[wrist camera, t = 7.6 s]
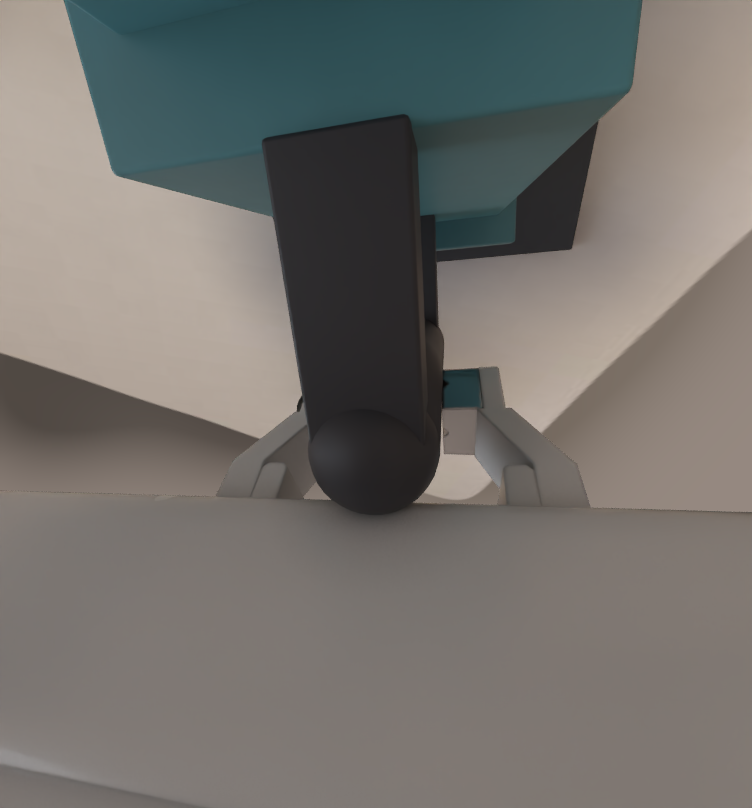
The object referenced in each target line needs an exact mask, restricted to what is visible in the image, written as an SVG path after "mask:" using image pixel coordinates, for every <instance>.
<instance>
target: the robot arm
mask: <svg viewBox="0 0 752 808" xmlns="http://www.w3.org/2000/svg"><path fill="white" fill-rule="evenodd" d="M442 373H443V386H442V420H443V444H444V454H462V455H475V457H476V459H477V460H478V461H479V462H480V464H481V465H482V466H483V468H484V469H485V470H486V472H487V473H488V474H489V476H490V477H491V478H492V479H493V481H494V482H495V483H496V485H497V486H498V487H499V489H500V491H499V499H498V505H483V504H481V505H480V504H447V503H413V502H412V503H411V504H409V505H408V506H406V507H404V508H402V509H400V510H397V511H395V512H392V513H388V514H383V515H367V514H360V513H357V512H353V511H350V510H348V509H346V508H344V507H342V506H340V505H339V504H337V503H336V502H334V501H333V500H310V499H304V498H303V496H304V495H305V494H306V493H307V492H308V490H309V489H310V488H311V487H312V486H313V485H314V483H315V482H316V479H315V477H314V475H313V473H312V470H311V466H310V463H309V459H308V441H309V434H308V427H307V421H306V415H305V409H304V403H303V404H302V407H301V409H300V412H294V413H293V414H292V415H290V416H289V417H288V418H287V419H285V420H284V421H283V422H282V423H280V424H279V425H278V426H276V427H275V428H274V429H273V430H271V431H270V432H269V433H268V434H266V435H265V436H264V437H262V438H261V439H260V440H259V441H257V442H256V443H255V444H254V445H252V446H251V447H250V448H248V449H247V450H246V451H245V452H244V453H242V454H241V455H240V456H238V457H237V458H236V459H235V460H233V462H232V464H231V466H230V468H229V470H228V472H227V474H226V476H225V478H224V480H223V482H222V484H221V486H220V488H219V490H218V493H217V494H216V496H215V497H209V496H174V495H140V494H139V495H138V494H105V493H71V492H34V491H4V490H0V808H752V512H720V511H719V512H718V511H686V510H652V509H619V508H618V509H617V508H616V509H615V508H591V507H590V504H589V501H588V498H587V494H586V491H585V488H584V485H583V481H582V479H581V475H580V472H579V469H578V466H577V464H576V463H575V462H574V461H573V460H572V459H570V458H569V457H568V456H567V455H566V454H565V453H563V452H562V451H561V450H560V449H559V448H558V447H556V446H555V445H554V444H553V443H552V442H551V441H549V440H548V439H547V438H546V437H545V436H544V435H542V434H541V433H540V432H539V431H538V430H537V429H535V428H534V427H533V426H532V425H531V424H530V423H528V422H527V421H526V420H525V419H524V418H523V417H521V416H520V415H519V414H518V413H517V412H516V411H514V410H513V409H512V408H506V407H505V402H504V396H503V390H502V384H501V379H500V373H499V368H498V367H497V366H496V367H479V368H468V369H445V370H442Z"/></svg>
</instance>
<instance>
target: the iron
mask: <svg viewBox="0 0 752 808" xmlns="http://www.w3.org/2000/svg"><path fill="white" fill-rule="evenodd" d="M64 2H65V6H66V9H67V13H68V16H69V20H70V23H71V27H72V31H73V34H74V38H75V41H76V45H77V48H78V52H79V55H80V59H81V62H82V66H83V69H84V73H85V76H86V80H87V84H88V87H89V91H90V94H91V98H92V101H93V105H94V108H95V112H96V115H97V119H98V122H99V126H100V129H101V133H102V137H103V140H104V144H105V147H106V151H107V154H108V158H109V161H110V165H111V168H112V171H113V172H114V174H115V175H117V176H120V177H123V178H127V179H131V180H134V181H138V182H142V183H146V184H150V185H153V186H157V187H161V188H165V189H169V190H172V191H176V192H180V193H184V194H188V195H192V196H195V197H199V198H203V199H207V200H211V201H214V202H218V203H222V204H226V205H230V206H233V207H237V208H241V209H245V210H249V211H252V212H256V213H260V214H264V215H268V216H271V217H274V223H275V230H276V236H277V242H278V248H279V254H280V261H281V267H282V273H283V279H284V285H285V291H286V298H287V304H288V310H289V316H290V322H291V329H292V335H293V341H294V347H295V353H296V359H297V366H298V372H299V378H300V384H301V390H302V397H303V403H304V409H305V415H306V421H307V427H308V434H309V441H308V459H309V463H310V466H311V470H312V473H313V475H314V477H315V479H316V481H317V483H318V485H319V486H320V487H321V489H322V490H323V492H324V493H325V494H326V495H327V496H328V497H329V498H330V499H331V500H333V501H334V502H336V503H337V504H339V505H340V506H342V507H344V508H346V509H348V510H350V511H353V512H357V513H360V514H367V515H383V514H388V513H392V512H395V511H397V510H400V509H402V508H404V507H406V506H408V505H409V504H411V503H412V502H413V501H415V500H416V499H418V498H419V497H420V496H421V494H422V493H423V492H424V491H425V490H426V489H427V487H428V486H429V484H430V483H431V481H432V479H433V478H434V476H435V472H436V469H437V466H438V463H439V457H440V441H441V414H442V386H443V373H442V370H443V358H444V338H443V334H442V332H441V330H440V328H439V325H438V291H437V257H436V251H441V250H452V249H462V248H472V247H482V246H492V245H502V244H510V243H513V242H514V241H515V228H516V201H517V196H518V195H519V194H521V193H522V192H523V191H524V190H525V189H526V188H527V187H528V186H529V185H530V184H531V183H532V182H533V181H534V180H535V179H537V178H538V177H539V176H540V175H541V174H542V173H543V172H544V171H545V170H546V169H547V168H548V167H549V166H550V165H551V164H552V163H554V162H555V161H556V160H557V159H558V158H559V157H560V156H561V155H562V154H563V153H564V152H565V151H566V150H567V149H568V148H569V147H571V146H572V145H573V144H574V143H575V142H576V141H577V140H578V139H579V138H580V137H581V136H582V135H583V134H584V133H585V132H587V131H588V130H589V129H590V128H591V127H592V126H593V125H594V124H595V123H596V122H597V121H598V120H599V119H600V118H601V117H602V116H604V115H605V114H606V113H607V112H608V111H609V110H610V109H611V108H612V107H613V106H614V105H615V104H616V103H617V102H618V101H620V100H621V99H622V98H623V97H624V96H625V95H626V94H627V93H628V92H629V91H630V88H631V86H632V83H633V75H634V66H635V58H636V50H637V41H638V33H639V25H640V16H641V8H642V0H64Z"/></svg>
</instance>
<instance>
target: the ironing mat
mask: <svg viewBox="0 0 752 808" xmlns="http://www.w3.org/2000/svg"><path fill="white" fill-rule="evenodd" d="M597 125H598V121H597V122H596V123H595V124H594V125H593V126H592V127H591V128H590V129H589V130H588V131H587V132H585V133H584V134H583V135H582V136H581V137H580V138H579V139H578V140H577V141H576V142H575V143H574V144H573V145H572V146H571V147H569V148H568V149H567V150H566V151H565V152H564V153H563V154H562V155H561V156H560V157H559V158H558V159H557V160H556V161H555V162H554V163H552V164H551V165H550V166H549V167H548V168H547V169H546V170H545V171H544V172H543V173H542V174H541V175H540V176H539V177H538V178H537V179H535V180H534V181H533V182H532V183H531V184H530V185H529V186H528V187H527V188H526V189H525V190H524V191H523V192H522V193H521V194H519V195H518V196H517V201H516V228H515V241H514V242H513V243H510V244H502V245H492V246H482V247H472V248H462V249H452V250H441V251H436V257H437V262H440V261H451V260H462V259H473V258H484V257H494V256H505V255H516V254H527V253H538V252H548V251H559V250H570V249H572V245H573V240H574V235H575V230H576V225H577V221H578V216H579V211H580V206H581V201H582V197H583V192H584V187H585V182H586V178H587V173H588V168H589V163H590V158H591V154H592V149H593V144H594V139H595V134H596V130H597ZM273 219H274V217H273Z"/></svg>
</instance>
